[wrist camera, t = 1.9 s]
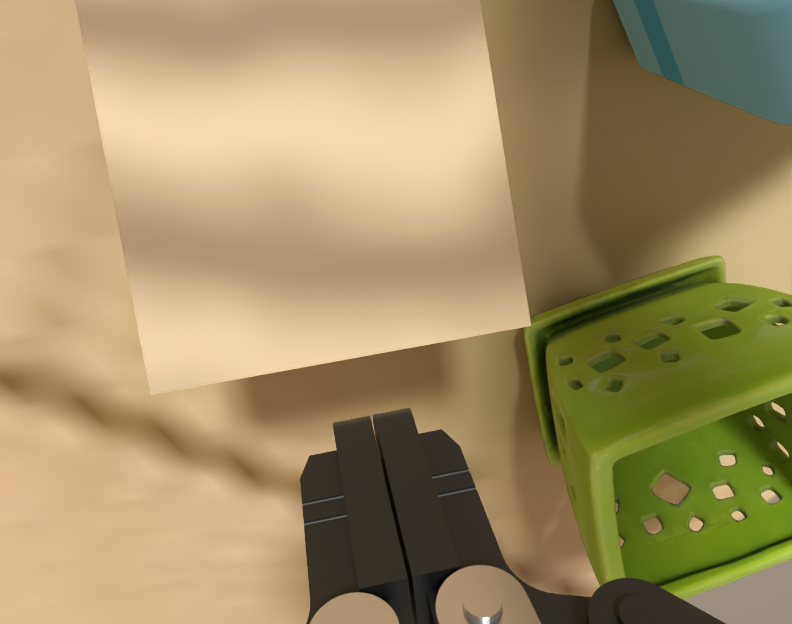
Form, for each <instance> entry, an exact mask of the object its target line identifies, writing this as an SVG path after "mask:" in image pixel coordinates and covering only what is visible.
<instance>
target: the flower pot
mask: <svg viewBox="0 0 792 624" xmlns="http://www.w3.org/2000/svg"><path fill="white" fill-rule="evenodd" d="M530 321H531V326H528V327H523V334H524V341H525V347H526V354H527V359H528V365H529V371H530V377H531V382H532V388H533V394H534V399H535V404H536V408H537V413H538V418H539V423H540V428H541V433H542V438H543V442H544V447H545V450H546V454H547V457H548V460H549V462H550V463H551V464H552V465H559V464H562V467H563V471H564V476H565V480H566V485H567V489H568V493H569V497H570V500H571V504H572V508H573V511H574V515H575V518H576V521H577V525H578V528H579V532H580V535H581V538H582V541H583V544H584V547H585V549H586V552H587V555H588V558H589V560H590V563H591V565H592V568H593V571H594V573H595V575H596V578H597V580H598V582H599V584H600V587H601V586H602V585H603V584H605V583H607V582H609V581H611V580H615V579H619V578H636V579H641V580H645V581H648V582H651V583H653V584H655V585H657V586H659V587H661V588H663V589H664V590H666V591H668V592H670V593H672V594H673V595H675V596H677V597H679V598H681V599H682V600H683V599H685V598H688V597H691V596H694V595H697V594H699V593H702V592H705V591H708V590H710V589H713V588H716V587H719V586H721V585H724V584H727V583H729V582H732V581H735V580H737V579H740V578H742V577H745V576H747V575H750V574H752V573H755V572H758V571H760V570H763V569H765V568H768V567H771V566H773V565H776V564H779V563H781V562H784V561H786V560H789V559H792V295H789V294H785V293H782V292H778V291H774V290H771V289H766V288H762V287H757V286H751V285H744V284H735V283H726V275H725V262H724V259H723V258H722V257H721V256H709V257H704V258H700V259H696V260H692V261H689V262H686V263H683V264H680V265H677V266H674V267H671V268H668V269H665V270H662V271H659V272H656V273H653V274H650V275H647V276H644V277H641V278H638V279H635V280H632V281H629V282H626V283H624V284H621V285H618V286H615V287H612V288H609V289H606V290H604V291H601V292H598V293H595V294H592V295H589V296H587V297H584V298H581V299H578V300H575V301H573V302H570V303H567V304H564V305H562V306H559V307H556V308H553V309H551V310H548V311H546V312H543V313H540V314H538V315H535V316H533V317H531V318H530ZM775 323H783V325H777V324H775ZM772 402H774V403H776V404H778V405H779V406H780V407H782V408H783V409H784V411H785V413H786V416H784V415H782V414H780V413H779V412H777V411H775V410H774V409H773V408H772V405H771V404H772ZM753 415H755V416H757V417H758V418H759V419H760V420H761V421H762V423H763V425H764V426H765V427H762V426H760V425H758V423H757V422H756V420H755V418H754V417H753ZM777 442H779V443H780V444H781V445H782V446H783V447H784V448H785V449H786V450H787V452H788V453H789V457H788V456H787V455H786V454H785V453H784V452H783V451H782V450H781V449H780V448H779V446H778V445H777ZM721 455H733V456H735V460H736V463H735V464H734V465H732V466H722V465H721V464H720V460H719V456H721ZM763 466H764V467H768V468H770V469H771V470H772V472H773V475H767V474H765V473H764V472H763V469H762V467H763ZM664 474H668V475H670V476H671V477H673V478H675V479H677V480H679V481H681V482H682V483H684V484H685V485H687V486H688V487H689V492H688V493H687V495H686V496H685V497H684V499H683V500H682V501H681V502H680V503H679V504H678V505H674V504H672V503H670V502H667V501H665V500H663V499H661V498H659V497H658V496H656V495H655V494H654V492H653V491H652V489H653V488H654V486H655V485H656V484H657V482H658V481H659V480H660V478H661V477H662V476H663V475H664ZM721 485H728V486H729V487H730V488H731V490H732V492H733V494H734V496H733V497H729V498H725V499H717V498H716V497H715V495H714V493H713V491H712V489H713V488H714V487H717V486H721ZM766 490H772V491H773V492H774V493H775V494H776V495H777V496H778V497H779V498H780V501H778V502H776V503H774V504H769V503H767V502H766V501H765V500H764V499H763V497H762V496H761V493H762V492H764V491H766ZM615 503H618V511H617V513H616V509H615ZM734 511H740V512H741V513H742V514H743V515H744V516H745V518H744V519H743V520H741V521H737V520H735V519H734V518H733V517H732V516H731V513H733V512H734ZM654 517H656V518H658V520H659V521H660V523H661V525H662V530H661V531H660V532H658V533H656V534H650V533H649V532H648V531H647V530H646V528H645V527H644V525H643V522H644V521H646V520H648V519H651V518H654ZM692 517H695V518H697V519H699V520H700V521H702V522H703V526H702V528H701V529H700V530H699V531H693V530H691V529H690V528H689V523H690V520H691V518H692ZM619 536H620V537H621V538H622V539H623V540H624V543H623V545H622V547H620V541H619Z"/></svg>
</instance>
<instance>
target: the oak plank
mask: <svg viewBox="0 0 792 624" xmlns="http://www.w3.org/2000/svg"><path fill="white" fill-rule="evenodd" d="M75 2H76V7H77V12H78V17H79V22H80V28H81V33H82V38H83V43H84V49H85V54H86V59H87V64H88V70H89V75H90V80H91V85H92V91H93V96H94V101H95V106H96V111H97V117H98V122H99V127H100V132H101V138H102V143H103V148H104V153H105V159H106V164H107V169H108V174H109V179H110V185H111V190H112V195H113V200H114V206H115V211H116V216H117V221H118V227H119V232H120V237H121V242H122V248H123V253H124V258H125V263H126V268H127V274H128V279H129V284H130V289H131V295H132V300H133V305H134V310H135V316H136V321H137V326H138V331H139V336H140V342H141V347H142V352H143V357H144V363H145V368H146V373H147V378H148V384H149V389H150V394H151V395H154V394H159V393H165V392H170V391H176V390H181V389H187V388H192V387H198V386H203V385H209V384H214V383H220V382H225V381H231V380H236V379H242V378H247V377H253V376H258V375H264V374H269V373H275V372H280V371H286V370H291V369H297V368H302V367H308V366H313V365H319V364H324V363H330V362H335V361H341V360H347V359H352V358H358V357H363V356H369V355H374V354H380V353H385V352H391V351H396V350H402V349H407V348H413V347H418V346H424V345H429V344H435V343H440V342H446V341H451V340H457V339H462V338H468V337H473V336H479V335H484V334H490V333H495V332H501V331H506V330H512V329H517V328H523V327H528V326H531V321H530V315H529V308H528V302H527V296H526V289H525V283H524V277H523V270H522V264H521V257H520V251H519V245H518V238H517V232H516V226H515V219H514V213H513V206H512V200H511V194H510V187H509V181H508V175H507V168H506V162H505V155H504V149H503V143H502V136H501V130H500V123H499V117H498V111H497V104H496V98H495V92H494V85H493V79H492V72H491V66H490V60H489V53H488V47H487V41H486V34H485V28H484V21H483V15H482V9H481V2H480V0H75Z"/></svg>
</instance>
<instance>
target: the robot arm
mask: <svg viewBox="0 0 792 624" xmlns="http://www.w3.org/2000/svg"><path fill="white" fill-rule="evenodd" d="M373 424H374V431H375V435H374V431H373V427H372V422H371V418H370V416H366V417H361V418H355V419H350V420H345V421H340V422H335V423H333V428H334V435H335V441H336V448H337V450H336V451H331V452H326V453H321V454H316V455H311V456H309V459H308V461H307V463H306V466H305V468H304V471H303V473H302V476H301V478H300V482H301V494H302V504H303V518H304V526H305V527H304V530H305V542H306V554H307V566H308V578H309V590H310V613H309V617H308V620H307V624H725V623H723V622H722V621H720V620H718V619H716V618H714V617H713V616H711V615H709V614H707V613H705V612H704V611H702V610H700V609H698V608H697V607H695V606H693V605H691V604H689V603H687V602H686V601H684V600H682V599H681V598H679V597H677V596H675V595H673V594H672V593H670V592H668V591H666V590H664V589H663V588H661V587H659V586H657V585H655V584H653V583H651V582H648V581H645V580H641V579H636V578H619V579H615V580H611V581H609V582H607V583H605V584H603V585H602V586H601V587H599V588H598V589H597V590H596V591H595V593H594V594H593V596H592V597H582V596H571V595H560V594H553V593H547V592H544V591H540V590H538V589H536V588H533V587H531V586H529V585H528V584H526V583H524V582H523V581H522V580H520V579H519V578H518V577H517V576H516V575H515V574H514V573H513V572H512V571H511V570H510V569H509V567H508V566H507V564H506V563H505V561H504V559H503V556H502V554H501V551H500V549H499V546H498V544H497V541H496V538H495V536H494V533H493V531H492V528H491V526H490V523H489V520H488V518H487V515H486V513H485V510H484V507H483V505H482V502H481V500H480V497H479V495H478V492H477V491H476V488H475V484H474V482H473V479H472V476H471V474H470V473H469V470H468V466H467V464H466V461H465V458H464V456H463V453H462V451H461V448H460V446H459V445H458V444H457V443H456V442H455V441H454V440H453V439H451V438H450V437H449V436H448V435H447V434H446V433H445V432H444V431H443V430H442V429H441V430H436V431H431V432H426V433H421V434H418V431H417V428H416V425H415V421H414V418H413V415H412V412H411V410H410V408H406V409H401V410H396V411H391V412H386V413H380V414H375V415H373ZM375 438H376V439H375Z"/></svg>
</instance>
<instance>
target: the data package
mask: <svg viewBox="0 0 792 624" xmlns="http://www.w3.org/2000/svg"><path fill="white" fill-rule="evenodd" d="M613 2H614V4H615V7H616V9H617V12H618V14H619V17H620V19H621V22H622V24H623V26H624V29H625V31H626V34H627V36H628V39H629V41H630V44H631V46H632V49H633V51H634V53H635V56H636V58H637V61H638V63H639V65H640V66H641V67H642V68H643V69H645V70H647V71H650V72H652V73H655V74H657V75H659V76H662V77H664V78H667V79H669V80H672V81H674V82H676V83H679V84H681V85H684V86H686V87H689V88H691V89H693V90H696V91H698V92H701V93H703V94H706V95H708V96H710V97H713V98H715V99H718V100H720V101H723V102H725V103H727V104H730V105H732V106H735V107H737V108H740V109H742V110H744V111H747V112H749V113H752V114H754V115H757V116H759V117H761V118H764V119H766V120H769V121H771V122H774V123H778V124H785V125H792V0H613Z"/></svg>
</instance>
